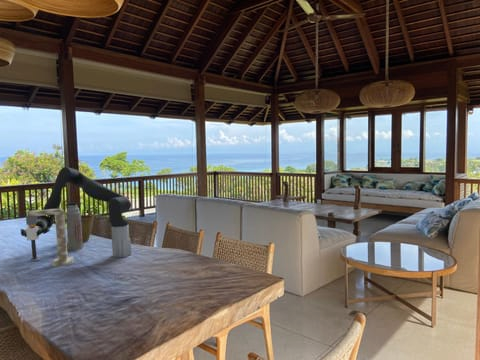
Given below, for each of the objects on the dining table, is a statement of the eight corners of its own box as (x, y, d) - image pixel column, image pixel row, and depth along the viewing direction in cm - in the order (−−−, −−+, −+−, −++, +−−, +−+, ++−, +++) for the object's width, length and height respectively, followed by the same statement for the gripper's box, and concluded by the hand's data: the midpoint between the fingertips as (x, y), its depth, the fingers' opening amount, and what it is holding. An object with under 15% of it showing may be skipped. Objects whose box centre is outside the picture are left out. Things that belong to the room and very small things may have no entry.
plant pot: (85, 244, 211) (83, 219, 210) (64, 243, 214) (63, 219, 213) (99, 238, 226) (98, 214, 224) (80, 237, 229) (78, 214, 227)
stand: (73, 258, 184) (69, 207, 181) (71, 263, 176) (68, 209, 173) (34, 263, 177) (30, 209, 174) (31, 269, 169) (26, 212, 166)
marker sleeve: (39, 237, 175) (38, 226, 174) (37, 239, 171) (36, 228, 170) (28, 238, 173) (27, 227, 173) (26, 240, 169) (26, 228, 168)
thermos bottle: (85, 247, 204) (82, 202, 201) (72, 251, 198) (69, 204, 195) (78, 245, 209) (75, 201, 206) (65, 248, 202) (62, 203, 200)
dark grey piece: (40, 259, 176) (36, 214, 173) (38, 262, 172) (34, 216, 170) (31, 260, 174) (27, 215, 172) (29, 263, 171) (25, 217, 168)
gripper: (22, 221, 182) (14, 228, 166) (52, 219, 187) (47, 225, 171) (23, 235, 183) (15, 243, 167) (53, 232, 188) (48, 240, 172)
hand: (31, 234), depth 169 cm, fingers closed on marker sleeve, 4 cm apart
